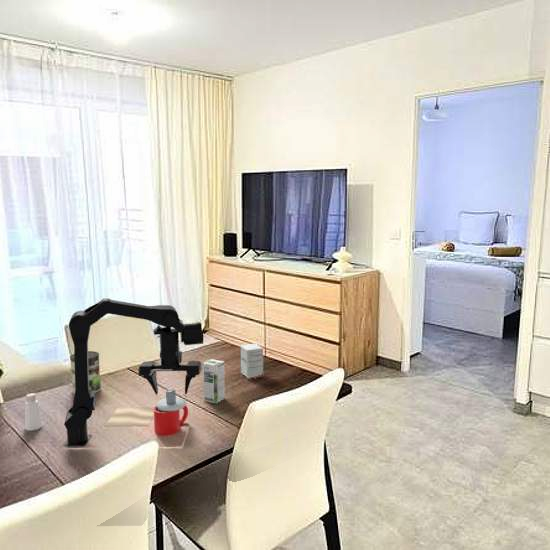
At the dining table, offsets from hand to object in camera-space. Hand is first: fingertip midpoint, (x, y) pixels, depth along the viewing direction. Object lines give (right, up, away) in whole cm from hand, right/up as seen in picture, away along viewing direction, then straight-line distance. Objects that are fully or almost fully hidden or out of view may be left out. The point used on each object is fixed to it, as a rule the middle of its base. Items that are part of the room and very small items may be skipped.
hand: (171, 394), depth 152 cm
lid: (0, -4, +1) cm, 4 cm away
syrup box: (+11, -8, +24) cm, 27 cm away
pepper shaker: (-45, -12, +3) cm, 47 cm away
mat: (-15, -10, +9) cm, 21 cm away
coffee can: (-40, -7, +33) cm, 52 cm away
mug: (0, -12, +2) cm, 12 cm away
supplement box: (+23, -4, +48) cm, 53 cm away
